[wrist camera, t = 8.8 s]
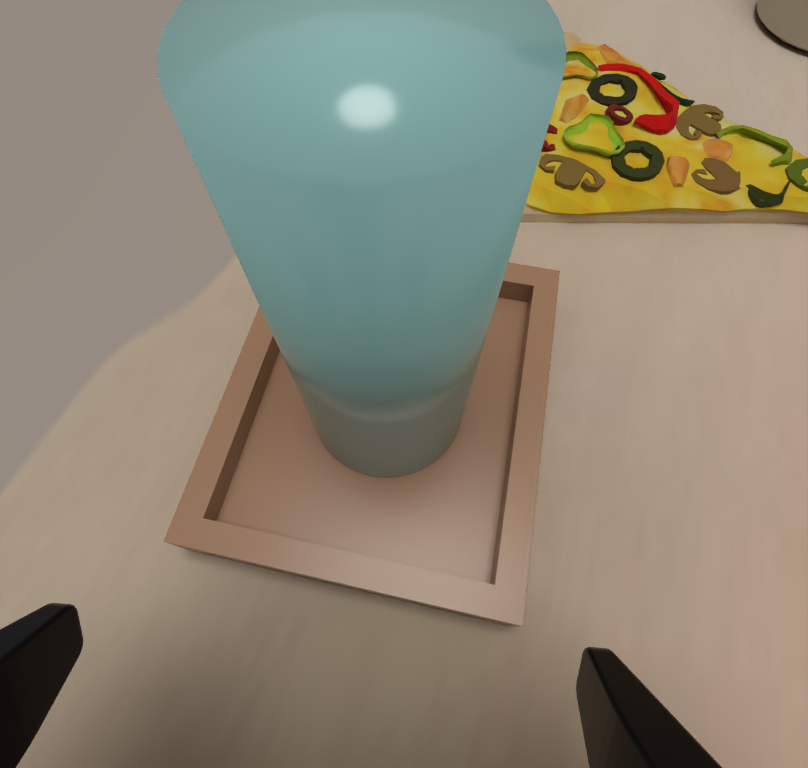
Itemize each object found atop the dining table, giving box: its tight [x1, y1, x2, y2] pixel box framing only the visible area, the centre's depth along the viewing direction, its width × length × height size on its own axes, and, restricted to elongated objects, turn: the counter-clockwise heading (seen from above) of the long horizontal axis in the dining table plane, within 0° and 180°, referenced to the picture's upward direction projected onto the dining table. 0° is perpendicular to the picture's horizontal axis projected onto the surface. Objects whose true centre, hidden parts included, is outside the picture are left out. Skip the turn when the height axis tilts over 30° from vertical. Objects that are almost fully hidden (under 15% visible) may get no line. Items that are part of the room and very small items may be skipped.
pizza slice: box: [520, 32, 808, 223], centre depth 26 cm, size 16×21×3 cm
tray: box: [164, 263, 560, 626], centre depth 20 cm, size 14×12×2 cm
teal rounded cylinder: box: [157, 0, 566, 478], centre depth 14 cm, size 6×6×14 cm
